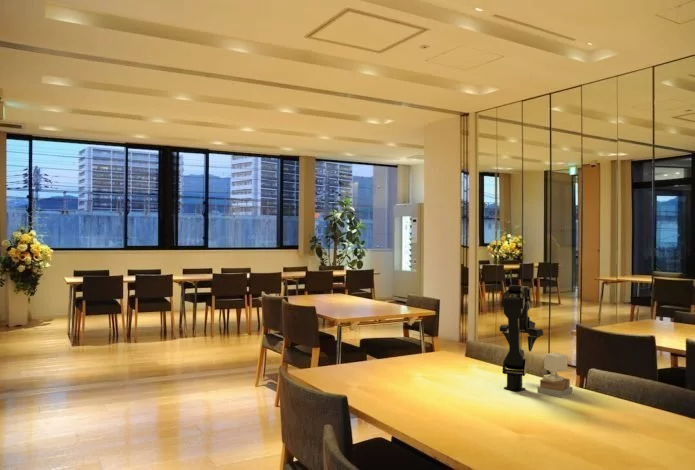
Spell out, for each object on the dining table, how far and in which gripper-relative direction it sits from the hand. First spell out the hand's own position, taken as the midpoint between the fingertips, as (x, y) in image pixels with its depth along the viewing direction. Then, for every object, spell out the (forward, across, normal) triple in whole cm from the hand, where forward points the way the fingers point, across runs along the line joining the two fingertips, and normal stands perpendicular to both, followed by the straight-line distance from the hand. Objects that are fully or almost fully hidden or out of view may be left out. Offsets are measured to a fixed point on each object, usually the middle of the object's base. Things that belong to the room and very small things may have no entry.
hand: (520, 349), depth 252 cm
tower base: (+14, -21, +9) cm, 27 cm away
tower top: (+11, -21, +9) cm, 25 cm away
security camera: (+8, -21, +9) cm, 24 cm away
